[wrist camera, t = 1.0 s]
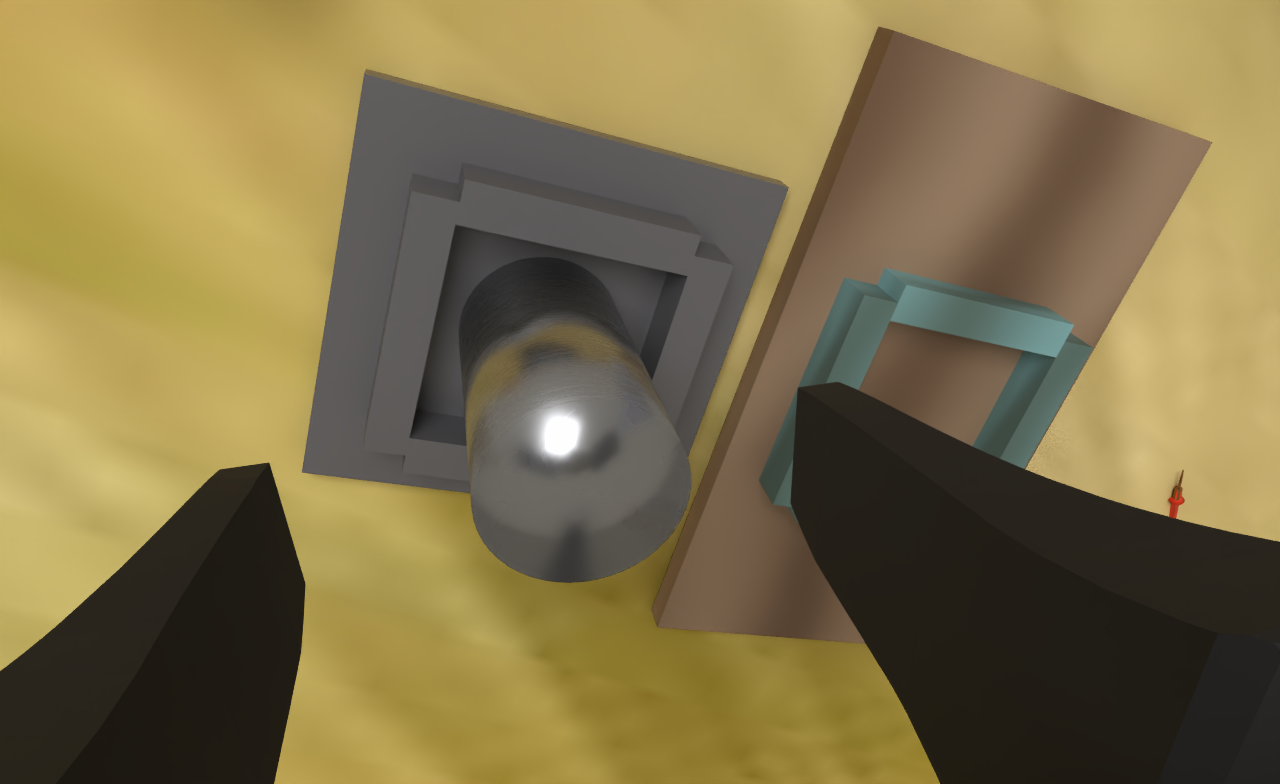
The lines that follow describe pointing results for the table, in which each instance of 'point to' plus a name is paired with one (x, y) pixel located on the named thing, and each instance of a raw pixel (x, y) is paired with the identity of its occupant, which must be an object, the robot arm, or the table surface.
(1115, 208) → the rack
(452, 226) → the socket block
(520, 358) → the peg
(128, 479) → the table surface
